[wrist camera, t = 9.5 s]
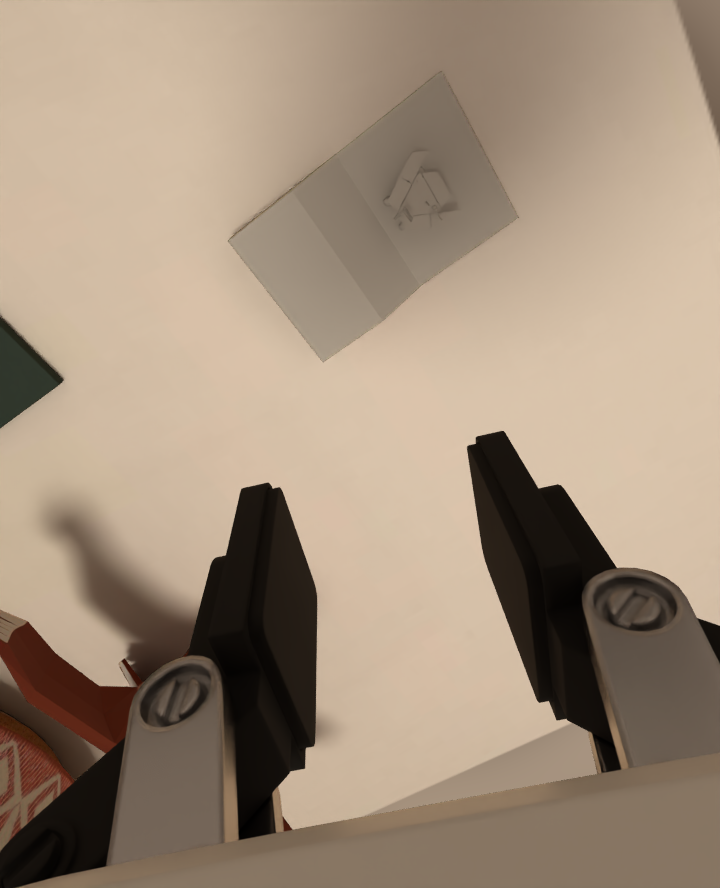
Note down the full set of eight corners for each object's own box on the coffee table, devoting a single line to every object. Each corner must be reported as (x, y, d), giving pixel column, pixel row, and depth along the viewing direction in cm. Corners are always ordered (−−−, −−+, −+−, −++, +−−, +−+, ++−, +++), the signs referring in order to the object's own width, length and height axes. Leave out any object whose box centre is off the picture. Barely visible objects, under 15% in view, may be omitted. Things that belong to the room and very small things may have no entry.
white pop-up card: (231, 236, 28) (223, 246, 26) (441, 70, 25) (452, 64, 23) (323, 354, 31) (322, 371, 29) (518, 217, 28) (535, 225, 26)
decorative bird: (454, 723, 41) (410, 1003, 30) (273, 726, 51) (191, 937, 40) (186, 435, 29) (-46, 730, 18) (17, 512, 39) (-197, 732, 28)
